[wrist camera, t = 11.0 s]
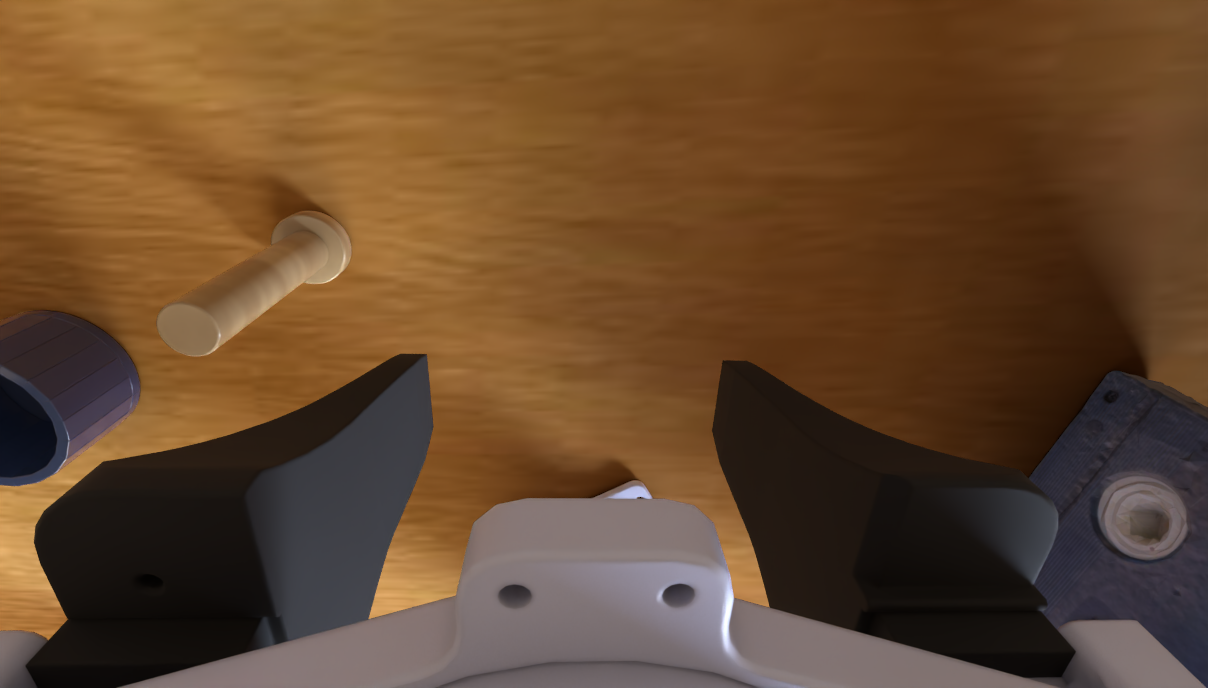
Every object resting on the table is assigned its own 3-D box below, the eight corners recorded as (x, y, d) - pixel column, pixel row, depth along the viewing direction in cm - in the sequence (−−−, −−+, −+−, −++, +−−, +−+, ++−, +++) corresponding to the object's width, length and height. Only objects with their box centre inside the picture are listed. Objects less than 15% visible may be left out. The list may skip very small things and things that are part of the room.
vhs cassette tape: (941, 647, 33) (1079, 861, 24) (897, 638, 33) (1022, 853, 24) (1164, 381, 26) (1477, 542, 17) (1113, 363, 26) (1408, 521, 17)
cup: (170, 394, 24) (102, 448, 20) (73, 447, 25) (-8, 507, 21) (62, 286, 22) (-34, 325, 18) (-40, 347, 23) (-150, 396, 19)
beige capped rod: (366, 258, 22) (265, 349, 15) (311, 289, 22) (186, 392, 15) (322, 197, 21) (189, 262, 14) (264, 230, 21) (106, 310, 14)
